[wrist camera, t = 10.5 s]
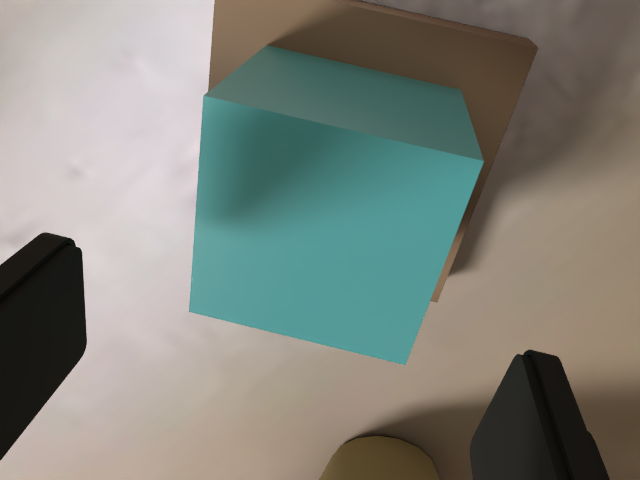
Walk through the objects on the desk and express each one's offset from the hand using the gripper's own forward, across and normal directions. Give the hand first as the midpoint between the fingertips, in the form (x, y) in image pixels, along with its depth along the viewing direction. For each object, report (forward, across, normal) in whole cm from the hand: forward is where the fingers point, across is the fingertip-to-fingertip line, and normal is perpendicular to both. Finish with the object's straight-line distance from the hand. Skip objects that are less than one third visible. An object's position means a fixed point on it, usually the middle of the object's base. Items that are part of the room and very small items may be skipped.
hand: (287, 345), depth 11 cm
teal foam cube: (+9, 0, -1) cm, 9 cm away
